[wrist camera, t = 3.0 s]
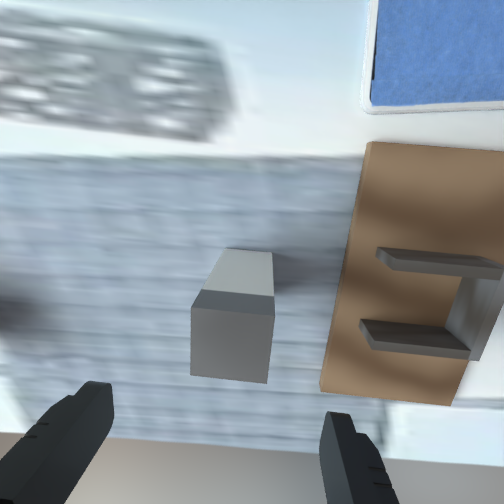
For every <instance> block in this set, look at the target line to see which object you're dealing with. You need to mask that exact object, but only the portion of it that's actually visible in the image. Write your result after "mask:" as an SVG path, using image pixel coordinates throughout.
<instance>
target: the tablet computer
mask: <svg viewBox="0 0 504 504" xmlns="http://www.w3.org/2000/svg"><path fill="white" fill-rule="evenodd" d="M360 105H361V108H362V110H363V111H364V112H365V113H367V114H372V115H377V114H397V113H417V112H439V111H467V110H494V109H504V0H369V8H368V19H367V31H366V41H365V52H364V63H363V73H362V83H361V93H360Z"/></svg>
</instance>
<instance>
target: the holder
mask: <svg viewBox="0 0 504 504" xmlns="http://www.w3.org/2000/svg"><path fill="white" fill-rule="evenodd" d="M503 303H504V152H502V151H489V150H476V149H463V148H450V147H438V146H425V145H412V144H399V143H386V142H374V141H372V142H369V143H367V146H366V151H365V156H364V161H363V166H362V171H361V176H360V181H359V186H358V191H357V196H356V201H355V206H354V211H353V216H352V221H351V226H350V231H349V236H348V241H347V246H346V252H345V257H344V262H343V267H342V272H341V277H340V282H339V287H338V292H337V297H336V302H335V307H334V312H333V317H332V322H331V327H330V332H329V337H328V342H327V347H326V352H325V357H324V362H323V367H322V372H321V377H320V382H319V385H320V389H321V392H327V393H336V394H345V395H354V396H363V397H372V398H381V399H390V400H399V401H407V402H416V403H425V404H434V405H443V406H451V404H452V401H453V399H454V396H455V394H456V391H457V389H458V386H459V384H460V381H461V379H462V376H463V374H464V372H465V369H466V367H467V364H468V362H469V360H472V361H479V360H480V358H481V355H482V353H483V351H484V348H485V346H486V343H487V341H488V339H489V336H490V334H491V332H492V329H493V327H494V324H495V322H496V320H497V317H498V315H499V313H500V310H501V308H502V305H503Z"/></svg>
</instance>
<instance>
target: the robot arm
mask: <svg viewBox="0 0 504 504" xmlns="http://www.w3.org/2000/svg"><path fill="white" fill-rule="evenodd" d="M113 420H114V406H113V394H112V386H111V384H110V383H103V382H95V381H88V382H86V383H85V384H84V385H83V386H82V387H81V388H80V389H79V391H78V392H77V393H76V394H75V395H74V396H72V395H68V396H66V397H65V398H63V399H62V400H60V401H59V402H57V403H56V404H54V405H53V406H51V407H50V408H49V409H48V411H47V412H46V413H45V414H44V415H43V416H42V417H41V418H40V419H39V420H38V421H37V423H36V425H33V426H32V427H31V428H30V429H29V431H28V432H27V433H26V434H25V436H24V437H23V438H21V439H20V440H19V441H18V442H17V443H16V444H15V445H14V447H12V449H10V451H9V452H8V453H7V454H6V455H5V456H4V457H3V458H2V459H1V460H0V504H64V503H65V502H66V500H67V498H68V497H69V495H70V494H71V492H72V491H73V489H74V487H75V486H76V484H77V483H78V481H79V479H80V478H81V476H82V475H83V473H84V471H85V470H86V468H87V467H88V465H89V464H90V462H91V460H92V459H93V457H94V456H95V454H96V452H97V451H98V449H99V448H100V446H101V444H102V443H103V441H104V440H105V438H106V436H107V435H108V433H109V431H110V429H111V427H112V424H113ZM319 455H320V464H321V470H322V476H323V481H324V487H325V493H326V498H327V504H399V501H398V499H397V497H396V494H395V491H394V489H392V484H391V481H390V479H389V476H388V474H387V473H386V470H385V466H384V464H383V461H382V459H381V456H380V454H379V451H378V449H377V448H376V447H375V445H374V444H373V443H372V441H371V440H370V439H369V437H368V436H367V435H366V434H363V433H356V430H355V427H354V424H353V421H352V419H351V416H350V415H349V414H345V413H337V412H329V411H328V412H327V413H326V416H325V421H324V425H323V430H322V434H321V439H320V446H319Z"/></svg>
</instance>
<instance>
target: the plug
mask: <svg viewBox="0 0 504 504" xmlns="http://www.w3.org/2000/svg"><path fill="white" fill-rule="evenodd" d="M274 321H275V304H274V283H273V261H272V253H271V252H261V251H250V250H239V249H229V248H225V249H224V251H223V253H222V254H221V256H220V258H219V260H218V261H217V263H216V265H215V267H214V268H213V270H212V272H211V274H210V275H209V277H208V279H207V280H206V282H205V284H204V286H203V287H202V289H201V291H200V293H199V294H198V296H197V298H196V300H195V301H194V303H193V305H192V306H191V363H190V375H192V376H201V377H210V378H219V379H228V380H237V381H246V382H255V383H264V384H267V378H268V370H269V362H270V353H271V345H272V337H273V329H274Z"/></svg>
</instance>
